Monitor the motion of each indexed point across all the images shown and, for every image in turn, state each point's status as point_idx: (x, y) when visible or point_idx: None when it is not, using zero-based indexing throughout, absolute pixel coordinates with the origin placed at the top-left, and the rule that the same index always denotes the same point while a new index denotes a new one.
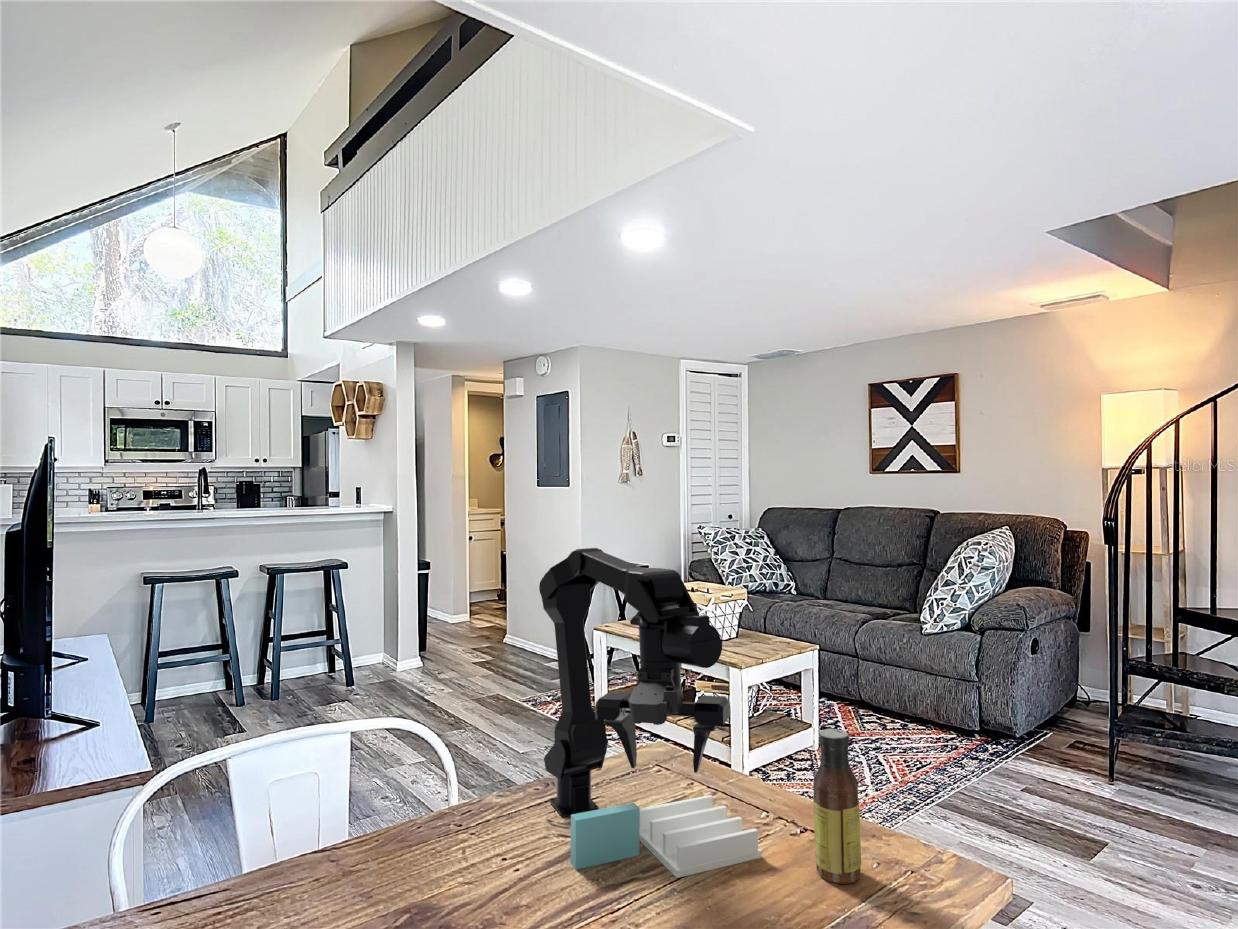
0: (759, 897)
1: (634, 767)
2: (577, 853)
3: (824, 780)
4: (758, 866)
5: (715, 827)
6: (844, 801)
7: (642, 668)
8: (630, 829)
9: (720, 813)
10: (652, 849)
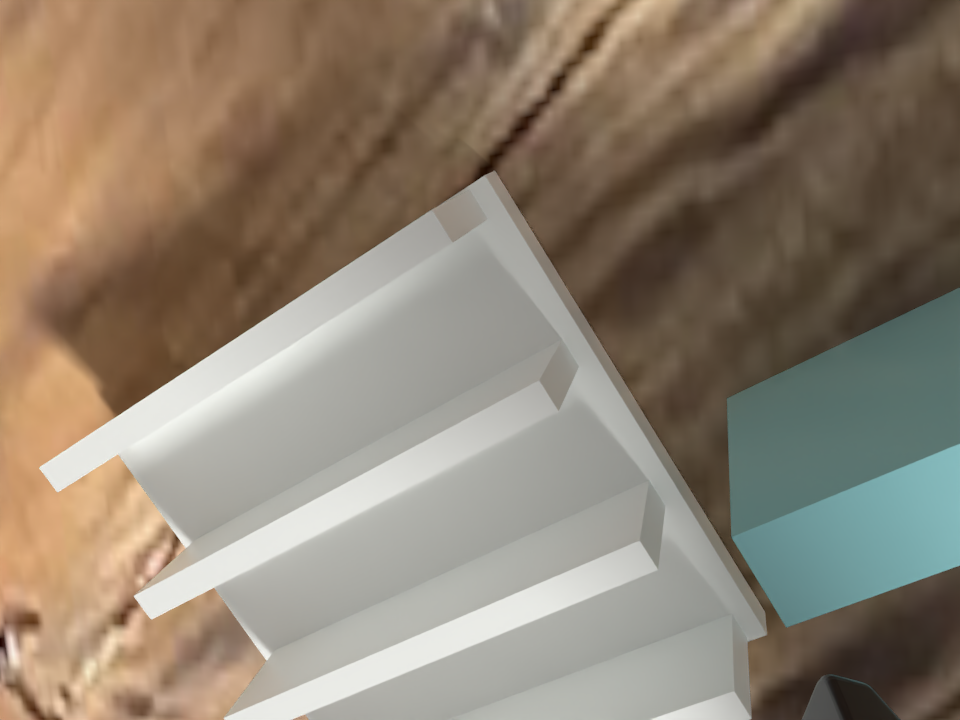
0: (85, 49)
1: (817, 689)
2: None
3: None
4: (123, 339)
5: (266, 520)
6: None
7: None
8: (795, 440)
9: (267, 687)
10: (647, 432)
